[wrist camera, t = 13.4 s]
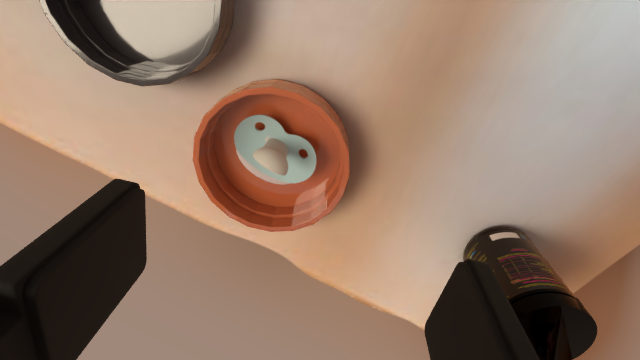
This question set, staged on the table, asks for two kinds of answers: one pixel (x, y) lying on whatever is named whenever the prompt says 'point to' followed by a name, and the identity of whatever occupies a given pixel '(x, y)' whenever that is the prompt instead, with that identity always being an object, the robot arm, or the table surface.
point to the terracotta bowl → (255, 193)
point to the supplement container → (535, 293)
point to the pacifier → (273, 151)
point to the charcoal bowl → (143, 35)
